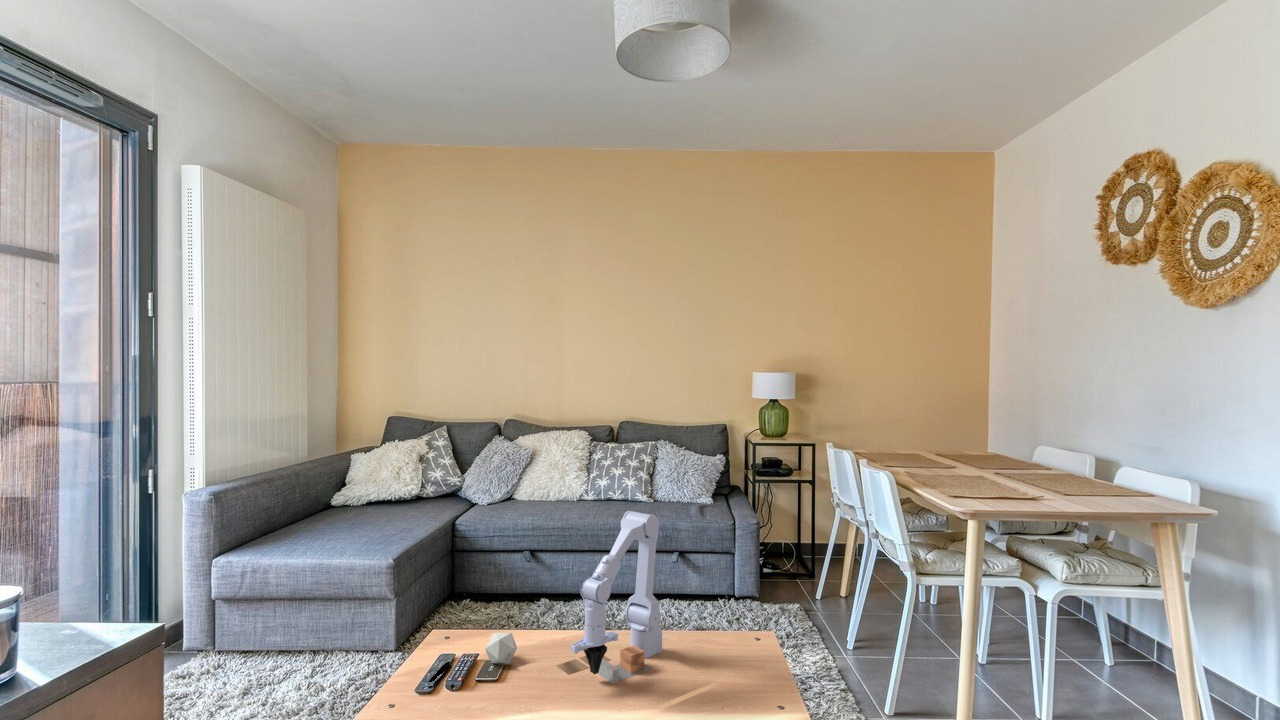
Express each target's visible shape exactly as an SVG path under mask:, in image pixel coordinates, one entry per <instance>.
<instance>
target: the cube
mask: <svg viewBox="0 0 1280 720" xmlns="http://www.w3.org/2000/svg"><path fill="white" fill-rule="evenodd" d="M619 651H620V652H619V654H620V657H619V658H620V659H619V664H620V667H621V668H622V669H624V670H626V671H627V672H629V673H630V674H631V673H634V672H637V671H640V670H642V669H644V665H645V659H646V658H645V651H643V650H641V649H639V648H638V647H636V646H631V645H630V646H628V647H625V648H622V649H620V650H619Z"/></svg>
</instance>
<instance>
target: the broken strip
mask: <svg viewBox="0 0 1280 720" xmlns="http://www.w3.org/2000/svg"><path fill="white" fill-rule="evenodd" d="M578 659H579V660H578ZM578 659H577V658H574V659H572V660H568V661H564V662H562V663H559V664H555V667H557V668H558V669H560V670H561V671H562V672H564V673H565V674H567V675H568V676H569V675H573V674H575V673H579V672H581V671H585V670H587V669H590V666H589V662H588V659H587V657H586V655H584V656H581V657H578ZM603 659H604V660H605V661H607V662H610V661H612V659H611V658H608V657H607V656H605V655H604V657H603ZM580 660H581V661H582V662H584V663H586V664H587V665H588V666H587V665H585V664H584V663H582V662H581V661H580Z"/></svg>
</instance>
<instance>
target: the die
mask: <svg viewBox="0 0 1280 720" xmlns="http://www.w3.org/2000/svg"><path fill="white" fill-rule="evenodd" d="M484 650H485V652H486V655H487V657H488V659H489V661H493V662H500V663H504V664H503V665H510V663H511V662H512V659H513V657H514V656H515V653H516V651H517V650H518V646H517V644H516V641H515V639H514V636H513V633H512V632H493V633H492V635H491V637H490V638H489V641H488V643H487V644H486V647H485V649H484Z"/></svg>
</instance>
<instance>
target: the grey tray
mask: <svg viewBox="0 0 1280 720" xmlns="http://www.w3.org/2000/svg"><path fill="white" fill-rule="evenodd" d="M651 670H652V668H650V667H648V666H647V665H645V664H644V669H642V670H640V671H637V672H634V673H631V674H630V673H629V672H627V671H626V670H624V669H622V668H621V667H620V663H619V664H616V665H614V664H611V662H610V661H608V662H607V661H605V660H604V659H602V662H601V665H600V668H599V672H598V673H597V674H596V675H599V676H600V677H602V678H603V679H605V680H606V681H608V682H609V683H610V684H616V683H619V682H621V681H624V680H627V679H629V678H630V679H631V678H633V677H635V676H637V675H640V674H643V673H646V672H649V671H651Z"/></svg>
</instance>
